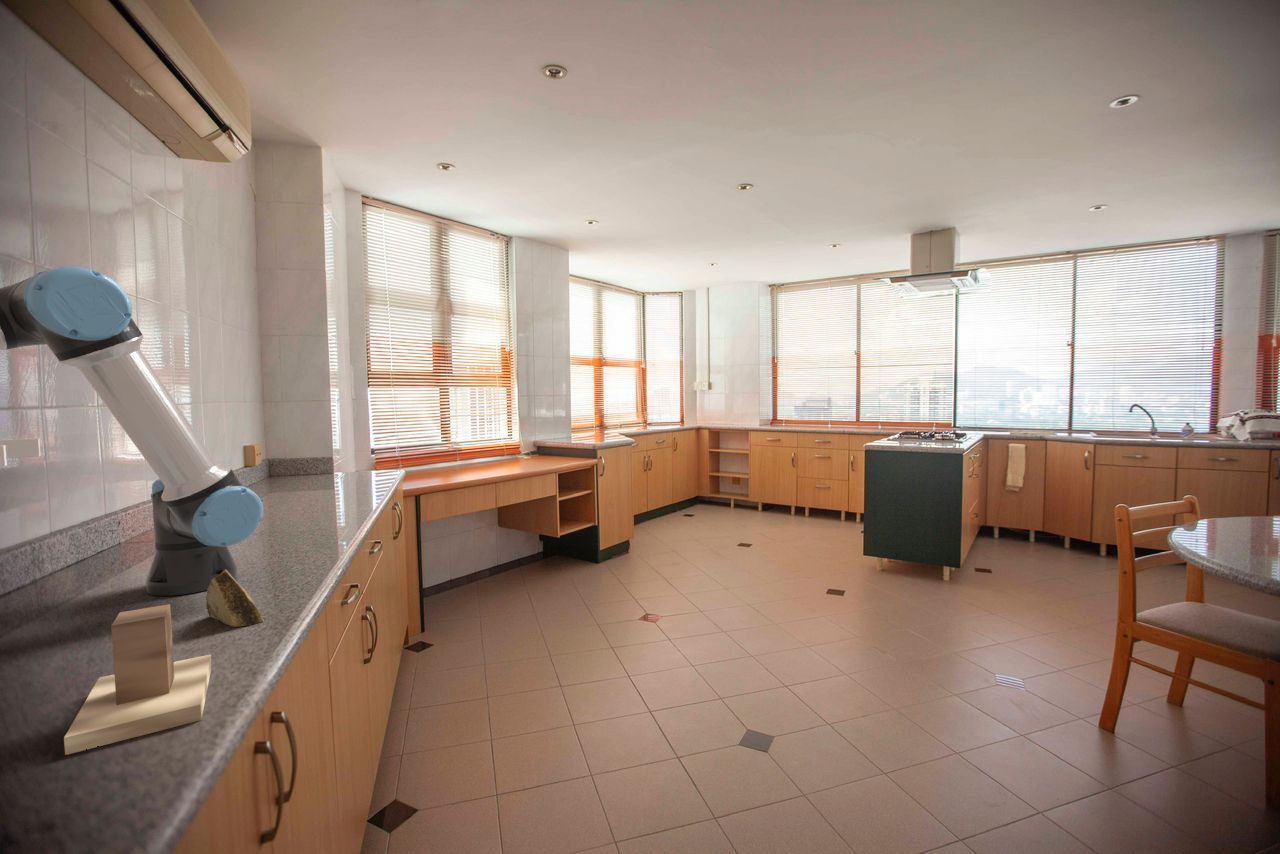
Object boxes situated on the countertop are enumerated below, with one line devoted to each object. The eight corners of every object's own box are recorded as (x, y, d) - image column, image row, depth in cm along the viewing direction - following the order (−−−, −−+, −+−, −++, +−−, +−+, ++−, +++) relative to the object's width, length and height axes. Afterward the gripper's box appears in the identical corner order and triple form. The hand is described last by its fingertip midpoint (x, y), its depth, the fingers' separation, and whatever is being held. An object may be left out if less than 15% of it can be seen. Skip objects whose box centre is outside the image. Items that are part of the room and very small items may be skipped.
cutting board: (100, 691, 76) (99, 677, 76) (211, 667, 83) (210, 654, 83) (65, 755, 63) (63, 737, 63) (201, 720, 70) (200, 704, 69)
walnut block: (124, 687, 73) (119, 612, 73) (174, 676, 76) (170, 604, 76) (116, 705, 69) (111, 625, 69) (169, 693, 72) (164, 616, 71)
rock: (188, 606, 101) (183, 616, 93) (222, 562, 104) (220, 568, 96) (248, 631, 106) (249, 643, 97) (279, 588, 109) (282, 596, 101)
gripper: (-161, 479, 79) (52, 467, 91) (-312, 510, 58) (-10, 489, 70) (-166, 426, 79) (49, 421, 90) (-320, 438, 58) (-15, 429, 70)
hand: (24, 451), depth 80 cm, fingers open, 13 cm apart
